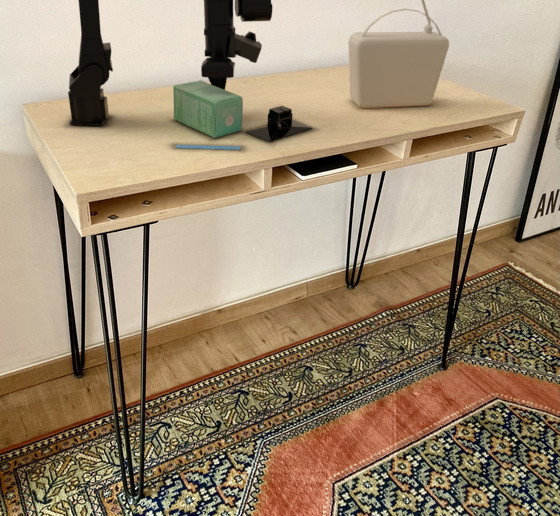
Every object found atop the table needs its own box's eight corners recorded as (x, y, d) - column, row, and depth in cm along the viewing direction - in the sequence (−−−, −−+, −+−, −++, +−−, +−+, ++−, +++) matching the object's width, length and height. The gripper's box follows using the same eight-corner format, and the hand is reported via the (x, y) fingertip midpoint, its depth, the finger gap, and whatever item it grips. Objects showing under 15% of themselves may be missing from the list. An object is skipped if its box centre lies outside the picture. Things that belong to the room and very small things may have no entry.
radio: (424, 95, 152) (443, -16, 139) (440, 106, 145) (461, -10, 132) (339, 98, 147) (350, -17, 134) (351, 109, 140) (363, -10, 127)
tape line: (175, 148, 117) (175, 147, 117) (176, 145, 118) (176, 144, 118) (240, 149, 117) (240, 149, 117) (240, 146, 119) (240, 146, 119)
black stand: (269, 143, 121) (269, 120, 119) (244, 132, 125) (244, 110, 123) (312, 129, 129) (314, 107, 126) (287, 119, 133) (288, 98, 130)
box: (215, 139, 121) (214, 101, 117) (173, 121, 129) (171, 85, 125) (243, 131, 126) (244, 94, 122) (201, 114, 134) (200, 79, 130)
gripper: (259, 34, 116) (258, 115, 125) (259, 13, 132) (258, 87, 140) (199, 32, 116) (202, 114, 124) (206, 12, 132) (209, 86, 140)
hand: (220, 99), depth 132 cm, fingers closed
